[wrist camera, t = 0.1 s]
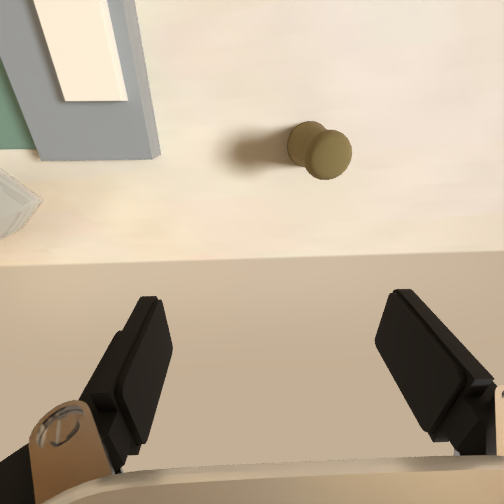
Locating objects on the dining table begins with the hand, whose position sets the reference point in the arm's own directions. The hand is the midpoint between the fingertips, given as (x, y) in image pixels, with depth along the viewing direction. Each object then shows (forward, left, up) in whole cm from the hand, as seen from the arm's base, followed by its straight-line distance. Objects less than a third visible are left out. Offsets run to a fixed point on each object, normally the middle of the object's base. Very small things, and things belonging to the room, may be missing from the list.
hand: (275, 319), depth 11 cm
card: (-13, -17, -27) cm, 35 cm away
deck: (-13, -20, -31) cm, 39 cm away
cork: (-3, +8, -31) cm, 32 cm away
